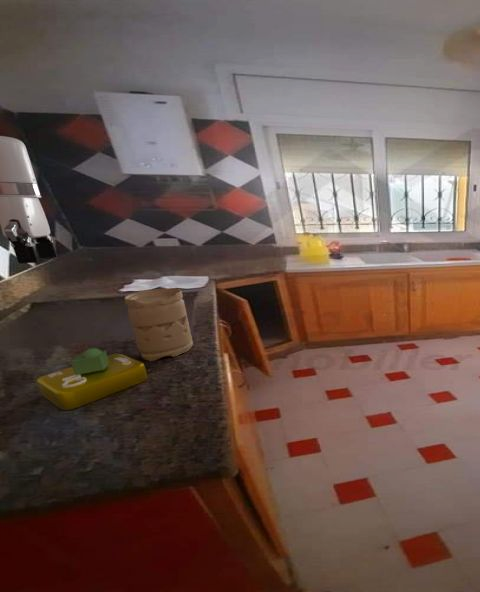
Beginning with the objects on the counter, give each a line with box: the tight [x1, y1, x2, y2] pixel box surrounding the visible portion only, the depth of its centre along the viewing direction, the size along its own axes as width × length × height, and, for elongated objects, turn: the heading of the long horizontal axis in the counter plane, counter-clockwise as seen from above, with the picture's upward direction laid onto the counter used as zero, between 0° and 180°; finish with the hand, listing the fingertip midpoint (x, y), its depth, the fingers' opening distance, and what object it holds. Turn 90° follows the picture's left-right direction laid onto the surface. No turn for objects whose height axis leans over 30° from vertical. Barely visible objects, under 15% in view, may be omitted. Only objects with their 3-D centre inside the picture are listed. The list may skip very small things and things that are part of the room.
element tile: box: [36, 353, 148, 411], centre depth 75 cm, size 15×15×5 cm
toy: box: [70, 347, 109, 375], centre depth 74 cm, size 5×4×5 cm
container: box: [124, 287, 194, 362], centre depth 92 cm, size 13×13×18 cm
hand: (39, 260), depth 82 cm, fingers open, 9 cm apart
